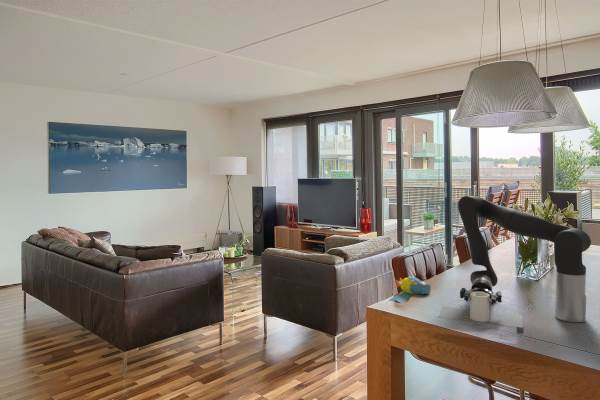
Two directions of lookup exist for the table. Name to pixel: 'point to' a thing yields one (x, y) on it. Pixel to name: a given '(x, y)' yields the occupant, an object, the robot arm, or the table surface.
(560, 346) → the table surface
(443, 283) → the table surface
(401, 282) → the blue and yellow toy
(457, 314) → the shaft board
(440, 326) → the table surface
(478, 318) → the keyed collar
